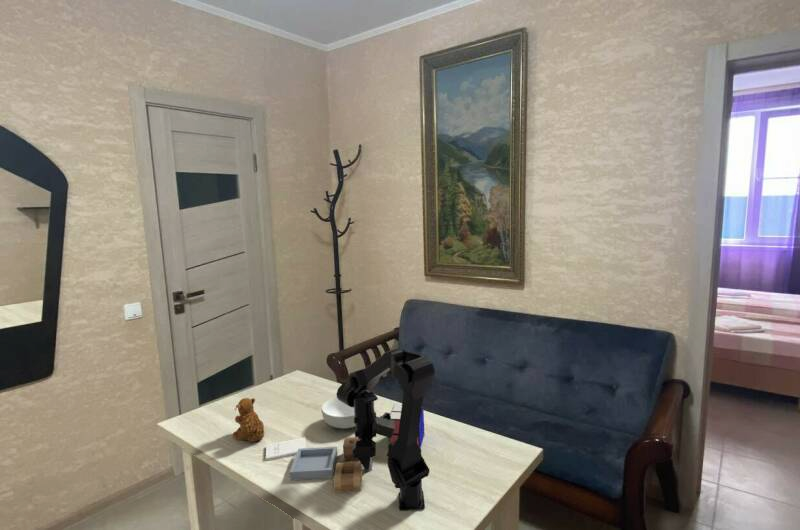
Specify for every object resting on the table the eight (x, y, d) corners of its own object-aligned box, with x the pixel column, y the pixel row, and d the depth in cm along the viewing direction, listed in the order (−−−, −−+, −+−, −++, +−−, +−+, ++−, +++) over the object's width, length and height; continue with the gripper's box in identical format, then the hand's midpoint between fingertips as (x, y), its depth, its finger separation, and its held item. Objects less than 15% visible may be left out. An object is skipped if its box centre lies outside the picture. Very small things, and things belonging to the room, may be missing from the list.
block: (360, 461, 130) (359, 445, 129) (344, 461, 130) (342, 446, 129) (361, 451, 135) (360, 436, 134) (345, 452, 135) (344, 437, 134)
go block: (360, 490, 116) (359, 476, 115) (334, 492, 116) (333, 478, 115) (362, 474, 123) (361, 461, 122) (337, 476, 123) (336, 463, 122)
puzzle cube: (420, 450, 133) (418, 420, 132) (388, 448, 135) (387, 418, 134) (424, 434, 143) (423, 405, 142) (395, 432, 145) (393, 404, 144)
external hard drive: (307, 454, 136) (266, 462, 132) (305, 441, 143) (266, 448, 140) (306, 449, 135) (265, 457, 132) (305, 436, 143) (266, 443, 140)
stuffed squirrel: (259, 424, 155) (256, 389, 154) (273, 440, 144) (269, 403, 142) (231, 434, 150) (227, 398, 148) (243, 451, 138) (238, 412, 136)
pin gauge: (372, 471, 124) (370, 448, 123) (363, 471, 124) (362, 449, 123) (372, 466, 126) (370, 444, 126) (364, 466, 126) (362, 444, 125)
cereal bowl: (315, 434, 146) (314, 415, 145) (332, 411, 163) (330, 393, 162) (364, 436, 143) (362, 416, 142) (375, 413, 159) (374, 395, 158)
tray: (332, 477, 122) (331, 469, 122) (290, 480, 122) (289, 472, 122) (337, 453, 134) (337, 446, 134) (299, 455, 134) (298, 448, 134)
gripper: (392, 426, 114) (395, 481, 116) (392, 396, 132) (394, 443, 134) (350, 429, 114) (354, 483, 116) (356, 398, 132) (359, 445, 134)
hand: (367, 462), depth 125 cm, fingers open, 6 cm apart
